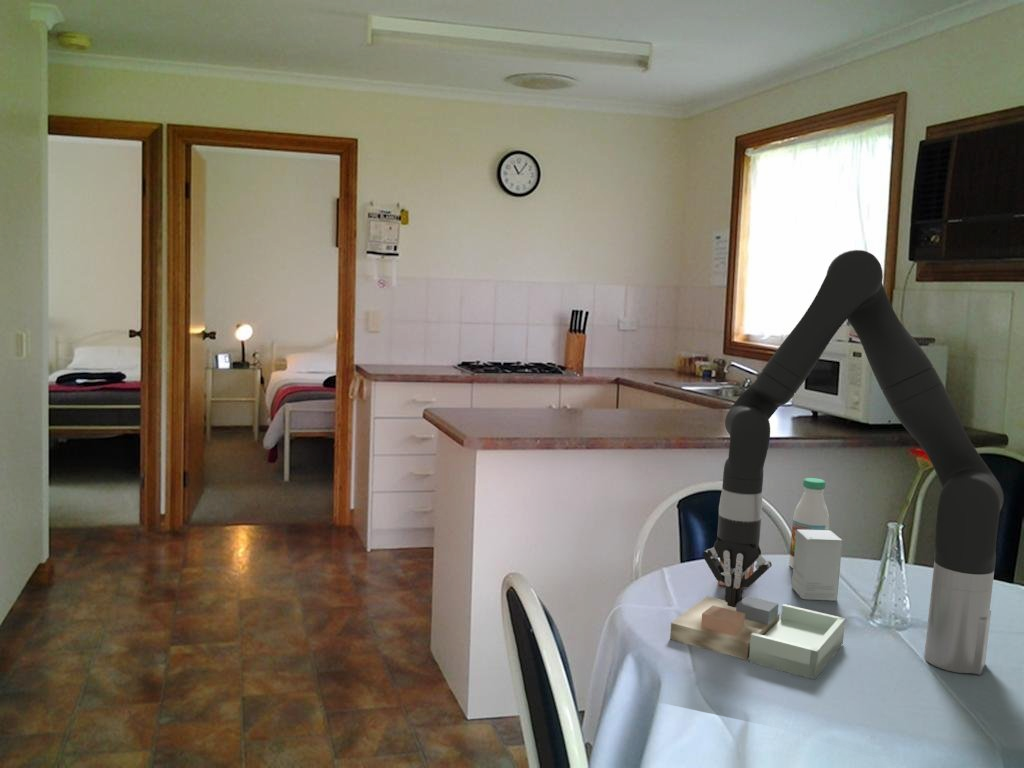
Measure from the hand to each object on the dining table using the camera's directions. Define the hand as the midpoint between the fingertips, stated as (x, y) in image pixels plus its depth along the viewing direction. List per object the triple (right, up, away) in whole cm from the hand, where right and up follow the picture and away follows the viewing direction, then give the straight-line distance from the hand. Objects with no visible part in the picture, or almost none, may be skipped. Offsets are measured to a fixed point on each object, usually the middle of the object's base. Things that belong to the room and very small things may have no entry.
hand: (732, 605), depth 176 cm
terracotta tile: (-4, -2, -8) cm, 9 cm away
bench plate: (-2, -4, -4) cm, 6 cm away
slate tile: (+4, -1, -3) cm, 5 cm away
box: (+9, -6, -11) cm, 15 cm away
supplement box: (+21, -2, +19) cm, 29 cm away
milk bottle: (+25, 0, +36) cm, 44 cm away
